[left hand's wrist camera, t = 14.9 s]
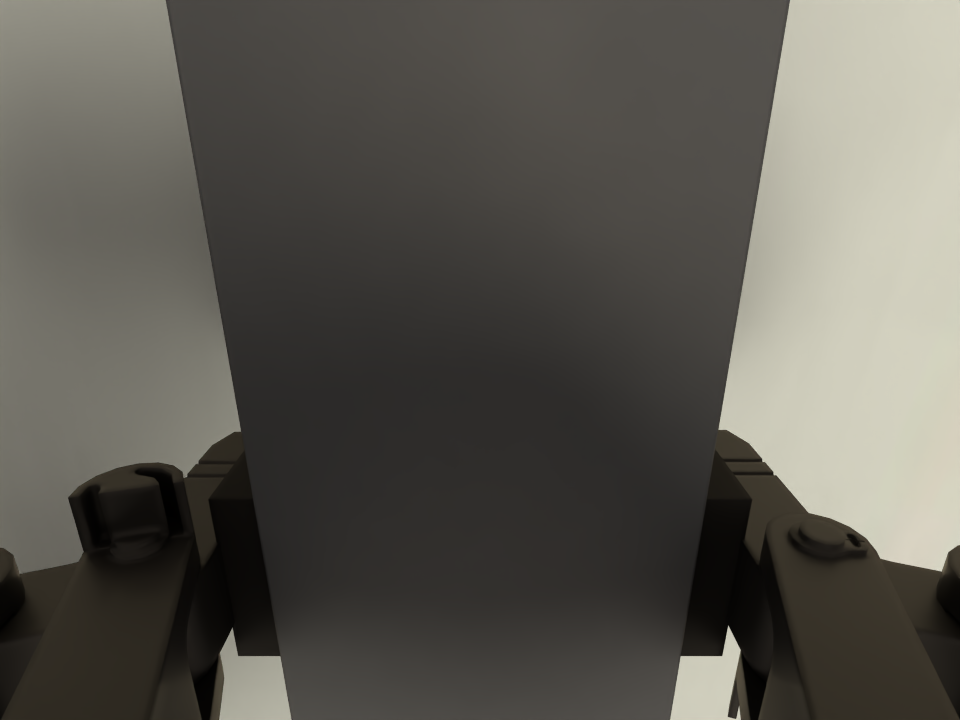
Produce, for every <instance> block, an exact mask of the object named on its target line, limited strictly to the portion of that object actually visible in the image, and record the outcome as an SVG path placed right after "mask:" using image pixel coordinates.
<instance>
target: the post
mask: <svg viewBox="0 0 960 720" xmlns="http://www.w3.org/2000/svg"><path fill="white" fill-rule="evenodd" d="M789 3H790V0H166V4H167V9H168V15H169V21H170V26H171V32H172V38H173V44H174V49H175V55H176V61H177V66H178V72H179V78H180V84H181V89H182V95H183V101H184V106H185V112H186V118H187V124H188V129H189V135H190V141H191V147H192V152H193V158H194V164H195V169H196V175H197V181H198V187H199V192H200V198H201V204H202V209H203V215H204V221H205V227H206V232H207V238H208V244H209V249H210V255H211V261H212V267H213V272H214V278H215V284H216V290H217V295H218V301H219V307H220V312H221V318H222V324H223V330H224V335H225V341H226V347H227V352H228V358H229V364H230V370H231V375H232V381H233V387H234V392H235V398H236V404H237V410H238V415H239V421H240V427H241V432H242V438H243V444H244V450H245V455H246V461H247V467H248V473H249V478H250V484H251V490H252V495H253V501H254V507H255V513H256V518H257V524H258V530H259V535H260V541H261V547H262V553H263V558H264V564H265V570H266V575H267V581H268V587H269V593H270V598H271V604H272V610H273V616H274V621H275V627H276V633H277V638H278V644H279V650H280V656H281V661H282V667H283V673H284V678H285V684H286V690H287V696H288V701H289V707H290V713H291V718H292V720H670V716H671V710H672V704H673V698H674V692H675V686H676V680H677V674H678V668H679V662H680V656H681V650H682V644H683V638H684V632H685V626H686V620H687V614H688V608H689V602H690V596H691V590H692V584H693V578H694V572H695V566H696V560H697V554H698V548H699V542H700V536H701V530H702V524H703V518H704V512H705V506H706V500H707V494H708V488H709V482H710V476H711V470H712V464H713V458H714V452H715V446H716V440H717V434H718V428H719V422H720V416H721V410H722V404H723V398H724V392H725V386H726V380H727V374H728V368H729V362H730V356H731V350H732V344H733V338H734V332H735V326H736V320H737V314H738V308H739V302H740V296H741V290H742V284H743V278H744V272H745V266H746V260H747V254H748V248H749V242H750V236H751V230H752V225H753V219H754V213H755V207H756V201H757V195H758V189H759V183H760V177H761V171H762V165H763V159H764V153H765V147H766V141H767V135H768V129H769V123H770V117H771V111H772V105H773V99H774V93H775V87H776V81H777V75H778V69H779V63H780V57H781V51H782V45H783V39H784V33H785V27H786V21H787V15H788V9H789Z"/></svg>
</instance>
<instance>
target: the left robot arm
mask: <svg viewBox="0 0 960 720" xmlns="http://www.w3.org/2000/svg"><path fill="white" fill-rule="evenodd" d="M68 499H69V503H70V506H71V510H72V513H73V516H74V520H75V523H76V527H77V530H78V534H79V537H80V540H81V544H82V547H83V551H84V552H83V554H82V556H81V558H80V561H79V562H76V563H73V564H68V565H63V566H58V567H53V568H48V569H43V570H38V571H33V572H28V573H23V574H19V571H18V568H17V565H16V562H15V559H14V556H13V555H12V554H11V553H10V552H8V551H7V550H5V549H4V548H0V720H219V716H220V708H221V700H222V692H223V684H224V673H223V666H222V661H221V656H220V651H221V649H222V647H223V645H224V643H225V641H226V639H227V637H228V635H229V633H230V631H231V629H232V627H233V631H234V636H235V642H236V647H237V652H238V656H280V650H279V644H278V638H277V633H276V627H275V621H274V616H273V610H272V604H271V598H270V593H269V587H268V581H267V575H266V570H265V564H264V558H263V553H262V547H261V541H260V535H259V530H258V524H257V518H256V513H255V507H254V501H253V495H252V490H251V484H250V478H249V473H248V467H247V461H246V455H245V450H244V444H243V438H242V432H234V433H232V434H230V435H229V436H227V437H225V438H224V439H222V440H220V441H219V442H217V443H215V444H214V445H212V446H211V447H210V448H209V450H208V451H207V452H206V453H205V454H204V455H203V457H202V458H201V459H200V460H199V464H196V465H195V466H194V467H193V468H192V470H191V471H190V472H189V473H188V476H187V478H184V477H183V473H182V471H180V470H179V469H178V468H176V467H175V466H173V465H168V464H163V463H139V464H134V465H130V466H125V467H120V468H116V469H114V470H111V471H108V472H106V473H103V474H100V475H98V476H96V477H94V478H92V479H91V480H89V481H87V482H85V483H84V484H82V485H80V486H79V487H78V488H77V489H76V490H75V491H74V492H73V493H72V494H71V495H70V496H69V497H68ZM728 625H729V627H730V629H731V631H732V633H733V635H734V637H735V639H736V641H737V643H738V645H739V647H740V649H741V652H740V656H739V661H738V666H737V671H736V676H735V681H734V685H733V690H732V695H731V700H730V705H729V712H728V717H731V718H735V719H736V717H737V712H738V707H740V715H741V720H960V545H959V546H957V547H955V548H954V549H952V550H951V551H950V552H948V555H947V558H946V561H945V564H944V567H943V570H942V572H940V571H935V570H930V569H925V568H920V567H915V566H910V565H905V564H900V563H895V562H891V561H887V560H883V559H880V557H879V555H878V553H877V551H876V550H875V549H874V548H873V546H872V545H871V544H870V543H869V541H868V540H867V539H866V538H865V537H863V536H862V535H861V534H859V533H858V532H856V531H855V530H853V529H852V528H850V527H849V526H846V525H844V524H842V523H839V522H837V521H835V520H833V519H830V518H827V517H822V516H818V515H814V514H810V513H808V512H807V511H806V510H805V508H804V507H803V506H802V505H801V504H800V503H799V501H798V500H797V499H796V498H795V497H794V496H793V494H792V493H791V492H790V491H789V490H788V489H787V487H786V486H785V485H784V484H783V483H782V482H781V480H780V479H779V478H778V477H777V476H776V475H773V471H772V470H771V469H770V468H769V466H768V465H767V464H766V463H765V462H762V458H761V457H760V456H759V455H758V454H757V452H756V451H755V450H754V449H753V448H752V447H751V445H750V444H749V443H747V442H746V441H744V440H742V439H741V438H739V437H737V436H736V435H734V434H732V433H730V432H729V431H727V430H718V434H717V440H716V446H715V452H714V458H713V464H712V470H711V476H710V482H709V488H708V494H707V500H706V506H705V512H704V518H703V524H702V530H701V536H700V542H699V548H698V554H697V560H696V566H695V572H694V578H693V584H692V590H691V596H690V602H689V608H688V614H687V620H686V626H685V632H684V638H683V644H682V650H681V656H722V654H723V649H724V644H725V639H726V634H727V629H728Z"/></svg>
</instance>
